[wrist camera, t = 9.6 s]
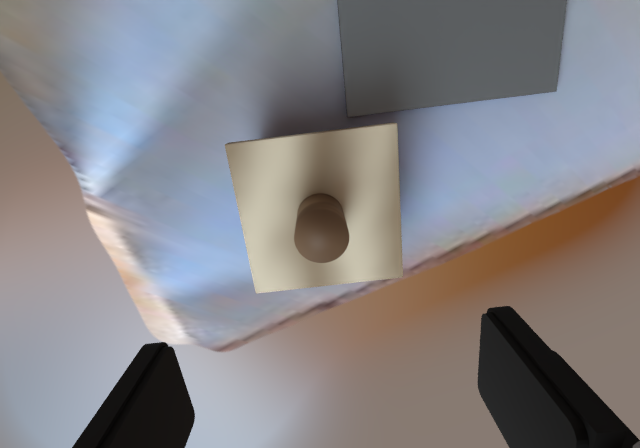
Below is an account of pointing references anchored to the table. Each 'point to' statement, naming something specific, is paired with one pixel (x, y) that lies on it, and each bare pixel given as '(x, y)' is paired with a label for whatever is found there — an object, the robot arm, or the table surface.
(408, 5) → the mat
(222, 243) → the table surface
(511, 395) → the robot arm
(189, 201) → the table surface
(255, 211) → the lid
